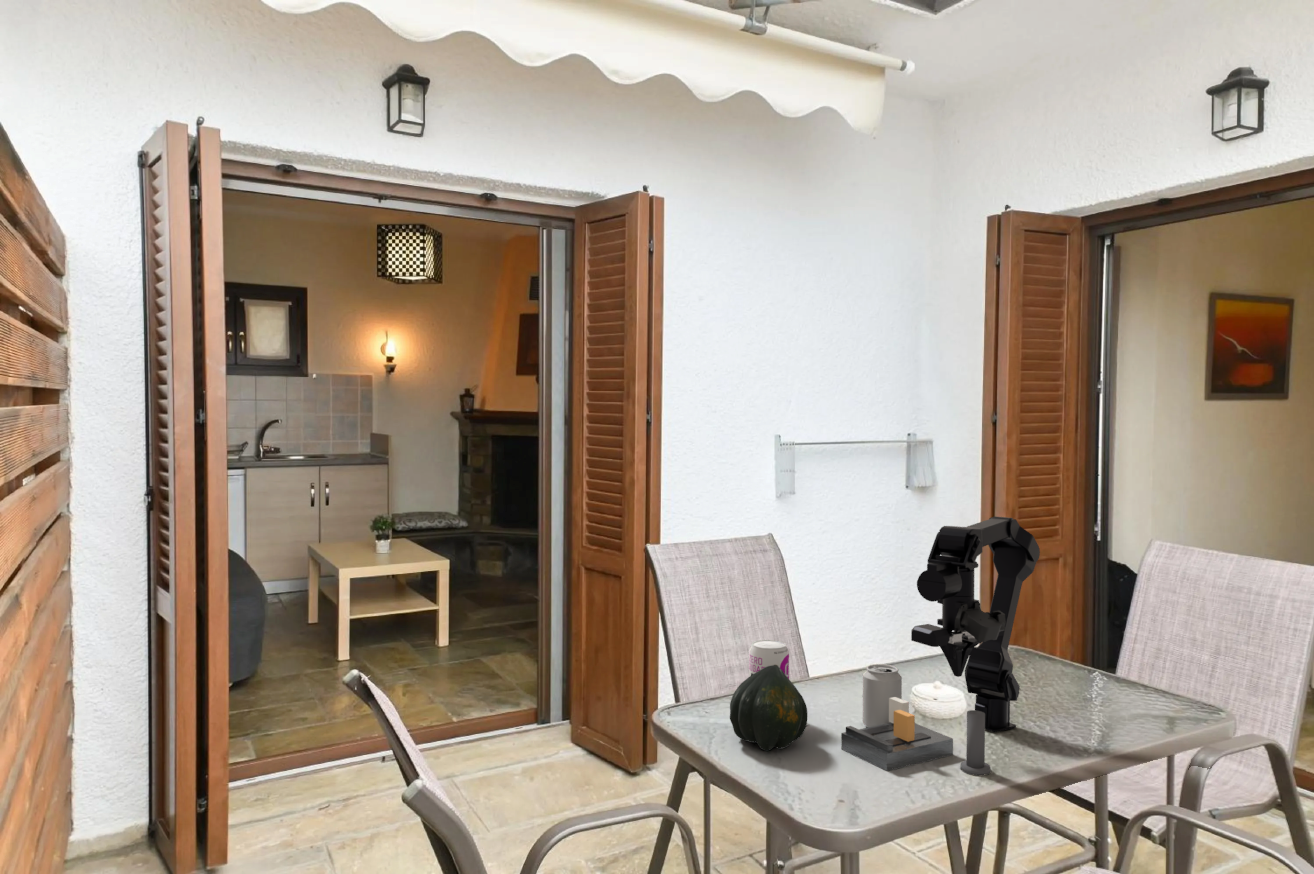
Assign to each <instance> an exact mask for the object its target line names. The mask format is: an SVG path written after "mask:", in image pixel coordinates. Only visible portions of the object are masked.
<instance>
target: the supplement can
mask: <svg viewBox="0 0 1314 874" xmlns="http://www.w3.org/2000/svg"><path fill="white" fill-rule="evenodd" d="M748 651H749V652H748V677H750V676H751V675H753V674H754V673H756V672H758V671H760V670H761V669H763V668H765V667H767V666H772V665H778V667H779V668H780V669H781V670H782V671H783V672H784V674H785V675H786V676H787V677H788V679H789V680H790V651H789V648H788V647H787V643H785V642H783V641H779V640H775V639H762V640H761V639H760V640H755V641H753V642H752V643H751V646H750V648H749V650H748Z"/></svg>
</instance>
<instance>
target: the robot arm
mask: <svg viewBox="0 0 1314 874" xmlns="http://www.w3.org/2000/svg"><path fill="white" fill-rule="evenodd" d="M986 546H988V547H989V549H990V551H991V553H992V554H993V556H992V557H993V558H992V562H993V564H994V567H995V570H996V573H997V579H996V581H995V586H994V587H995V588H994V591H993V596H992V600H991V604H990V608H989V611H983V610H982V609H981V602H980V600H979V599H975V569H977V568H979V563H978V562H977V561H976V560H977V558H978V557H979V556H980V555H981V554H983V548H984V547H986ZM930 549H931V550H930V552H929V555H928V557H927V565H926V570H924V571H922V572H921V573H920V574H919V576H918V578H917V580H916V587H917V591H918V593H919V595H920V596H921V598H923V599H925V600H926V601H928V602H937V604H941V608H942V609H941V612H942V613H941V618H937V620H936V623H937V625H938V626H937V625H934V624H930V623H925V624H921V625H920V624H919V625H915V626H913V627H912V629H911V634H910V635H911V637H910V640H911V642H914V643H919V644H922V645H925V646H929V647H933V648H937V647H939V648H940V649H941V651H942V653H943V655H944V657H945V659H946V660H947V663H948V665H949V668H950V670H951V672H952V674H953V676H954V677H957V678H959V677H962V676H963V673H964V678H965V683H966V685H965V686H966V690H967V693H968V694H974V695H975V703H974V710H976V711H981V712H984V713H985V731H986V730H987V731H989V732H992V733H999V732H1003V731H1006V730H1011V729H1016V728H1017V724H1014V723H1012V722H1011V721H1010V720H1011V702H1013V701H1015V702H1016V701H1018V698H1019V694H1020V690H1021V689H1020V684H1019V683H1018V681H1017V679H1016V677H1015V676H1014V674H1013V669H1014V664H1013V660H1012V659H1011V657H1010V653H1009V651H1008V650H1009V645H1010V641H1011V637H1012V631H1013V627H1014V622H1015V617H1016V614H1017V613H1016V612H1017V609H1018V606H1019V605H1018V604H1019V599H1020V595H1021V592H1022V591H1021V590H1022V587H1023V582H1024V581H1025V580H1027V578H1029V577H1030V576H1031V574H1032V575H1033V573H1034V571H1035V567H1036V565H1037V563H1038V561H1039V559H1040V557H1041V556H1040V555H1041V554H1040V553H1041V550H1040V547H1039V544H1038V541H1037V540H1036V539H1035V536H1034V535H1033V534H1032V533H1030V532H1029V531H1027V530H1026V529H1025V528H1023V527H1022V526H1021V525H1020V523H1019V522H1018V520H1017V519H1014V518H1013V517H1009V516H1007V517H1006V516H1005V517H1004V516H995V515H994V516H993V517H989V518H988V519H986V520H983V521H980V522H977V523H974V524H971V525H968V526H958V525H957V526H955V525H954V526H953V525H943V526H942V527H941V528H940V529H939V531H938V532H937V533H936V536H935V538H934V541H933V544H932V547H931V548H930ZM940 626H942V627H940ZM977 645H978V646H977ZM976 646H977V647H976Z"/></svg>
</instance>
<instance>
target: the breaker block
mask: <svg viewBox="0 0 1314 874" xmlns="http://www.w3.org/2000/svg"><path fill="white" fill-rule="evenodd" d="M840 737H841V744H840V745H841V750H843V751H845V752H846V753H849V754H851V755H853V756H855V757H857V758H858V759H860V760H862V761H864V762H867V763H869V764H872V765H874V766H875V767H878V768H880V769H882V770H884V771H886V772H889V771H892V770H896V769H900V768H905V767H909V766H912V765H918V764H921V763H926V762H929V761H933V760H937V759H941V758H945V757H950V756H953V755H954V738H952V737H950V736H947V735H945V734H943V733H940V732H938V731H935V730H933V729H930V728H928V727H925V726H922V725H921V724H919V723H916V722H915V731H914V740H913V741H909V742H907V741H905V740H903V739H900V738H898V737H896V736H894V723H887V724H882V725H877V726H872V727H868V728H867V727H864V728H857V727H854V726H852V725H849V726H845V732H841V736H840Z"/></svg>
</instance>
